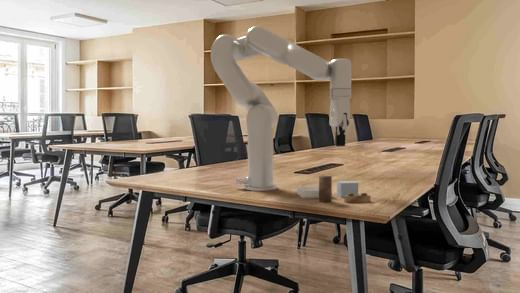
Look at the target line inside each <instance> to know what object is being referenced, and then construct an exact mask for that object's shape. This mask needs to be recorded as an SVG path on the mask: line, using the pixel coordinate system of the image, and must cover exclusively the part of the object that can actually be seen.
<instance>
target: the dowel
mask: <svg viewBox="0 0 520 293" xmlns="http://www.w3.org/2000/svg"><path fill="white" fill-rule="evenodd" d="M332 178H333V177H332V176H331V175H318V186H319V198H318V202H320V203H332V198H331V196H332V197H333V190H332V188H333V186H332V185H333V184H332V183H333V182H332Z"/></svg>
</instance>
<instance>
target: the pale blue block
mask: <svg viewBox="0 0 520 293" xmlns="http://www.w3.org/2000/svg"><path fill="white" fill-rule="evenodd" d="M336 185H337V186H336V187H337V188H336V193H337V194H336V195H337V196H338V197H339V198H341V199H342V198H343V199H344V195H348V193H353V194H354V195H359V181H355V180H340V181H339V180H338V181H337V184H336Z"/></svg>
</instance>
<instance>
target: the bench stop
mask: <svg viewBox="0 0 520 293" xmlns="http://www.w3.org/2000/svg"><path fill="white" fill-rule="evenodd" d="M343 201H344V202H345V203H371V195H370V194H367V192H361V193H360V194H358V195H354V194H353V193H348V195H344V198H343Z"/></svg>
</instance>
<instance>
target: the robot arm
mask: <svg viewBox="0 0 520 293" xmlns="http://www.w3.org/2000/svg"><path fill="white" fill-rule="evenodd" d="M261 54H262V55H264V56H266V57H267V58H270V59H272V60H274V61H275V62H277V63H279V64H281V65H285V66H288V67H290V68H292V69H294V70H297V72H300V73H302V74H304V75H306V76H308V77H309V78H311V79H312V80H314V81H317V82H323V81H324V82H325V81H329V99H330V106H329V123H328V124H329V126H330V127H333V129H334V134H335V135H334V136H335V138H334V142H335V144H334V145H335V146H336V147H346V133H347V130H348V126H350V124H351V100H350V99H352V67H353V66H352V61H351V59H349V58H335V59H332V60H331V61H330V60H325V59H324V58H323V57H320V56H319V55H317V54H315V53H313V52H311V51H309V50H307V49H305V48H303V47H301V46H299V45H297V44H296V43H294V42H292V41H290V40H288V39H286V38H285V37H283V36H280V35H278V34H277V33H274V32H273V31H270V30H269V29H267V28H265V27H262V26H259V25H255V26H252V27H251V28H249V29H248V30H247V32H246V34H245V36H242V37H238V38H237V37H235V36H233V35H230V34H221V35H219V36H218V37H216V39H214V41H213V43H212V45H211V47H210V61H211V64H212V67H213V70H214V71H215V73H216V74H217V76H218V77H219V79H220V80H221V82H222V84H223V85H224V87H225V88H226V89H227V91H228V92H229V94H230V96H231V97H232V99H233V101H234V102H235V103H236V104H238V106H241V107H244V108H245V109H246V110H247V114H246V118H245V119H246V120H245V121H246V122H245V123H246V130H247V131H246V134H247V175H246V177H243V178H235V184H240V185H241V184H242V185H243V184H244V185H243V189H244V190H247V191H254V192H267V191H274V190H277V189H278V185H277V184H276V183H275V184H274V135H273V134H274V133H273V132H274V131H273V127H274V126H275V125H276V124H277V123H278V119H279V118H278V117H279V116H278V112H277V110H276V108H275V107H274V105H273V104H272V102H271V101H270V99H269V98H268V97H267V95H266V94H265V92H264V91H263V89H262V88H261V86H259V85H258V84H256V83H254V82H252V81H250V80H249V79H248V78H249V77H247V75H246V74H245V73H244V72H243V69H242V68H241V66H239V64H238V63H237V61H242V60H246V59H249V58H252V57H255V56H259V55H261Z"/></svg>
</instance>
